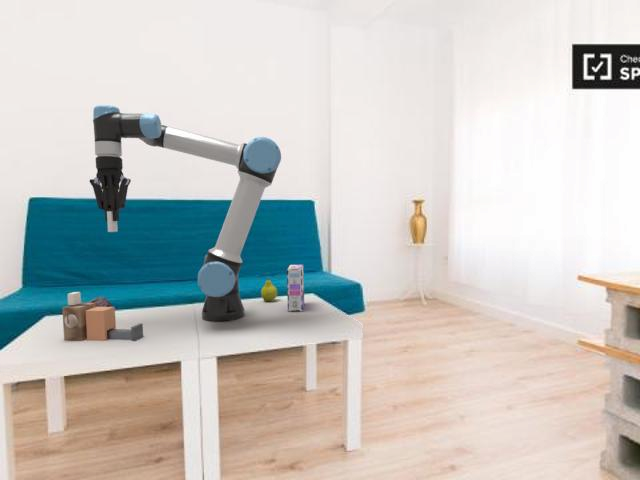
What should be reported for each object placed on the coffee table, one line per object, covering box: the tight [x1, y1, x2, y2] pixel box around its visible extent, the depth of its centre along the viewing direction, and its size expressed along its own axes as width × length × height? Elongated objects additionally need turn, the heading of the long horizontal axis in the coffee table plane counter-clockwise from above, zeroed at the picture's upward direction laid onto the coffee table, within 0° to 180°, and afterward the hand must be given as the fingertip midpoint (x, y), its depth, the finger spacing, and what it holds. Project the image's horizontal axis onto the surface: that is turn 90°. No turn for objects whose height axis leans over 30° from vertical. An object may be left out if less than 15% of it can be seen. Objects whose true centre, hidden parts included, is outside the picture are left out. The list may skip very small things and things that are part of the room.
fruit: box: [260, 273, 278, 302], centre depth 176 cm, size 7×7×12 cm
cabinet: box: [62, 302, 96, 342], centre depth 128 cm, size 6×8×10 cm
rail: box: [107, 323, 144, 342], centre depth 127 cm, size 18×4×4 cm, turn 81°
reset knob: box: [67, 291, 82, 306], centre depth 128 cm, size 2×3×4 cm, turn 171°
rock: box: [87, 296, 113, 307], centre depth 144 cm, size 12×9×10 cm
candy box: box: [286, 264, 305, 312], centre depth 162 cm, size 14×6×16 cm, turn 179°
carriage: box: [86, 306, 117, 341], centre depth 127 cm, size 6×5×9 cm
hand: (112, 231), depth 132 cm, fingers closed
